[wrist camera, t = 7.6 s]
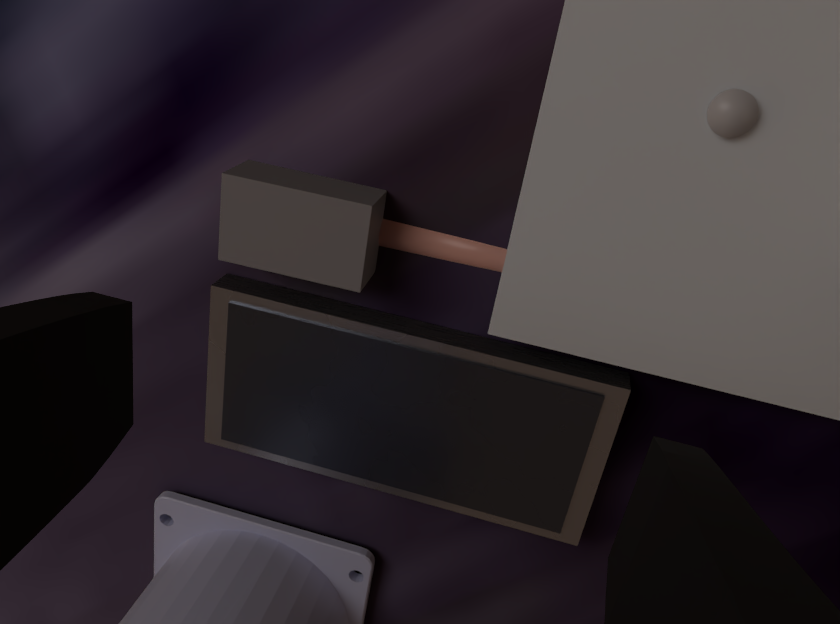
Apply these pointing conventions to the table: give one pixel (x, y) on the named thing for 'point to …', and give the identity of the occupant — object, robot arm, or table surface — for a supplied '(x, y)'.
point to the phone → (410, 407)
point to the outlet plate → (687, 197)
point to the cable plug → (323, 228)
